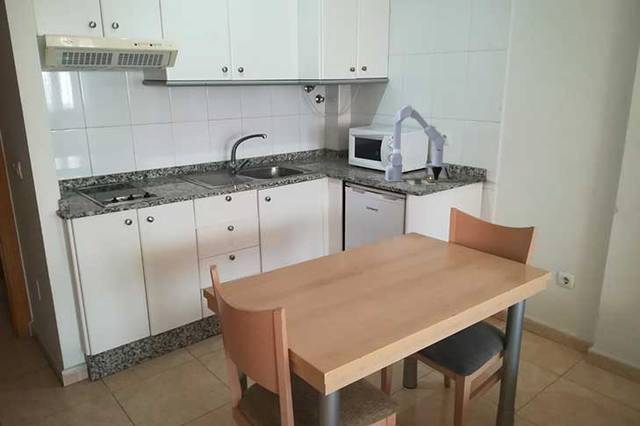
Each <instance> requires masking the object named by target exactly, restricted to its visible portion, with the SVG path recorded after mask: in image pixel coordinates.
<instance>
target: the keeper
mask: <svg viewBox="0 0 640 426" xmlns="http://www.w3.org/2000/svg"><path fill="white" fill-rule="evenodd" d="M412 180H414V184H421V180H422V178H421V177H420V176H417V177H415V176H413V177H412Z"/></svg>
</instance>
